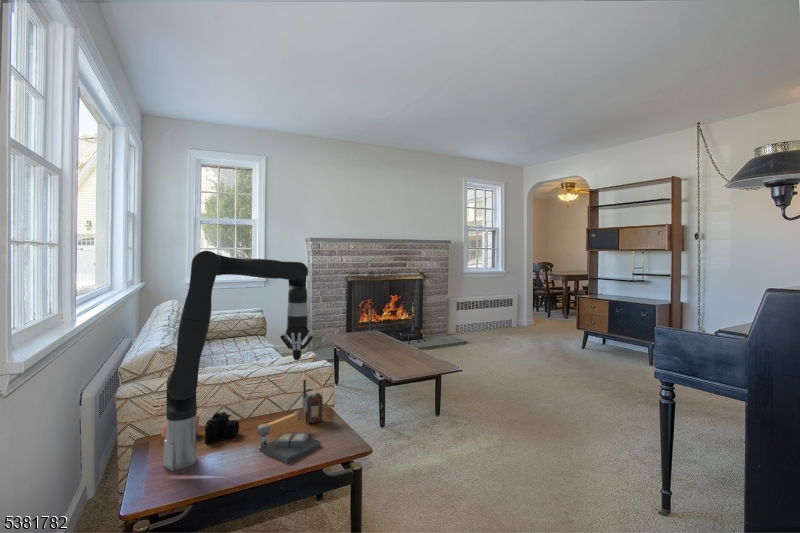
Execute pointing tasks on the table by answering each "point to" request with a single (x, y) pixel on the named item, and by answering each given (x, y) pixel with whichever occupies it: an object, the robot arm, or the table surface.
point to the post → (262, 440)
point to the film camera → (220, 427)
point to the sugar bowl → (166, 428)
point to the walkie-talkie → (312, 406)
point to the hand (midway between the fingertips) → (297, 359)
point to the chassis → (290, 446)
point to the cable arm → (278, 423)
